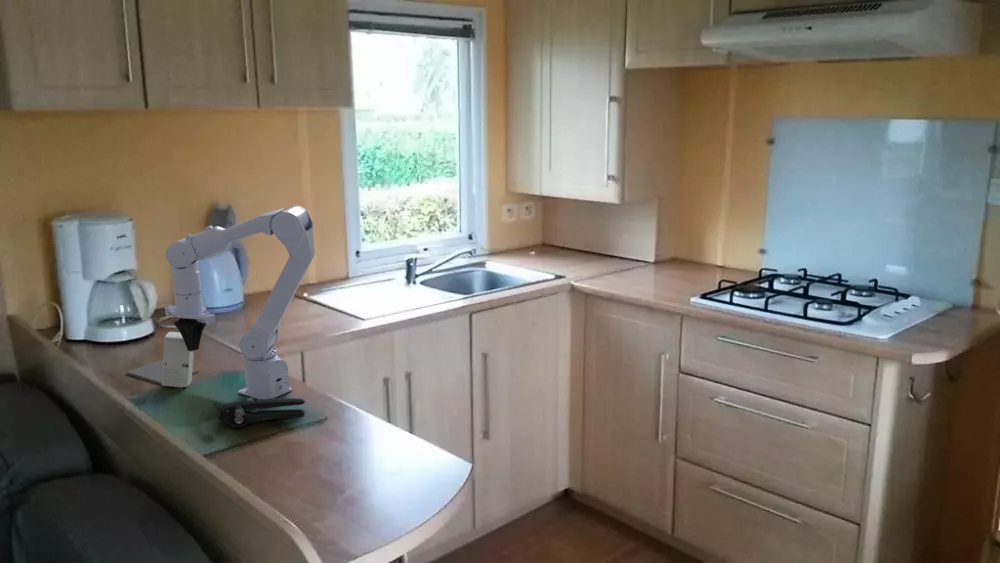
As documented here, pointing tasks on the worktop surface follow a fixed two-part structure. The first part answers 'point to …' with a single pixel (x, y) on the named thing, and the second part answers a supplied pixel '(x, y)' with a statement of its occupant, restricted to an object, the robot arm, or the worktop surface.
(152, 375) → the mat
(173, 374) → the skincare box
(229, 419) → the can opener
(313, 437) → the worktop surface
